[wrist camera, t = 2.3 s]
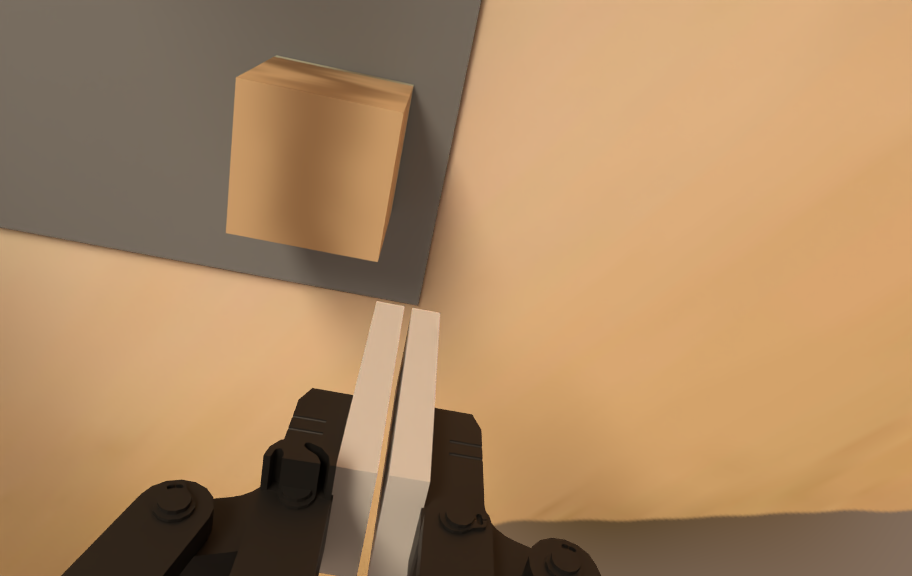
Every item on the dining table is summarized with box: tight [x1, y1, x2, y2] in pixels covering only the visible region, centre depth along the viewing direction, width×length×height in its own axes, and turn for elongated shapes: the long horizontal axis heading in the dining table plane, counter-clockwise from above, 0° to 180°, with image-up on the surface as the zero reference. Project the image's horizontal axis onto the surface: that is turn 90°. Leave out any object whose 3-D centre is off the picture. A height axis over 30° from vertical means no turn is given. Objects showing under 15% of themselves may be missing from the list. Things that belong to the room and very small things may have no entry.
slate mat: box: [0, 0, 481, 305], centre depth 36 cm, size 26×18×1 cm
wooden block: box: [226, 55, 414, 262], centre depth 33 cm, size 7×7×7 cm
